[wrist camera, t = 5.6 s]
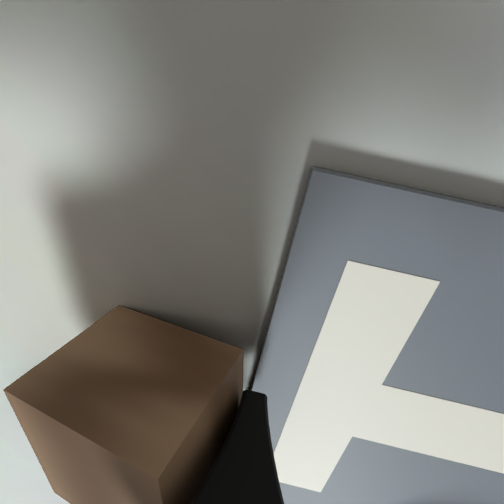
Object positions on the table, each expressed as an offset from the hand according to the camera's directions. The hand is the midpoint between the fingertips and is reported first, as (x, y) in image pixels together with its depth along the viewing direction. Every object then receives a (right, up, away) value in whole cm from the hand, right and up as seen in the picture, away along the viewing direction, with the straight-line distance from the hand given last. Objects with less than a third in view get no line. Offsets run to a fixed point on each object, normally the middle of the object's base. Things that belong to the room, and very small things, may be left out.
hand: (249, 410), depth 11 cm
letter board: (+7, -1, +1) cm, 8 cm away
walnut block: (-3, +1, +1) cm, 3 cm away
